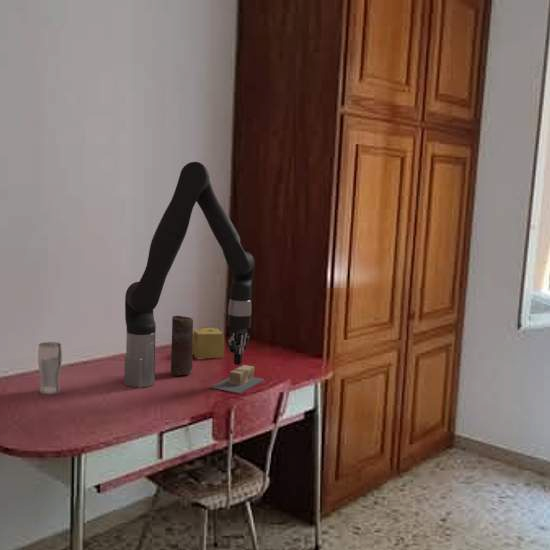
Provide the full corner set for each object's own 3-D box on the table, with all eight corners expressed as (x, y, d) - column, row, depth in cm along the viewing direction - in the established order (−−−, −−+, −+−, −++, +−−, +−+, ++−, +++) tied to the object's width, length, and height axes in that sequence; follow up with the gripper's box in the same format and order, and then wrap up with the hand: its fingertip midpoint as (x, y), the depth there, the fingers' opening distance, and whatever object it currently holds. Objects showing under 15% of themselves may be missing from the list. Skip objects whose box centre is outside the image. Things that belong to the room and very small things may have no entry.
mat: (239, 393, 227) (239, 392, 227) (209, 388, 232) (209, 387, 232) (264, 380, 243) (264, 379, 243) (235, 375, 248) (235, 374, 248)
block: (240, 373, 234) (254, 366, 244) (229, 371, 236) (244, 364, 245) (240, 385, 235) (254, 377, 244) (229, 383, 237) (243, 376, 246)
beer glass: (62, 388, 225) (63, 341, 223) (60, 394, 219) (60, 347, 216) (39, 388, 224) (39, 341, 222) (36, 395, 217) (36, 347, 215)
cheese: (190, 353, 276) (191, 327, 274) (218, 352, 279) (218, 327, 277) (196, 360, 266) (196, 333, 264) (224, 359, 269) (225, 333, 268)
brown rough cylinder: (175, 369, 251) (176, 314, 248) (195, 371, 250) (196, 315, 247) (167, 375, 244) (168, 318, 241) (188, 377, 242) (189, 320, 240)
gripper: (240, 317, 226) (238, 370, 229) (259, 311, 238) (256, 361, 241) (219, 314, 230) (217, 367, 232) (239, 308, 241) (237, 358, 244)
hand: (237, 364), depth 236 cm, fingers closed
